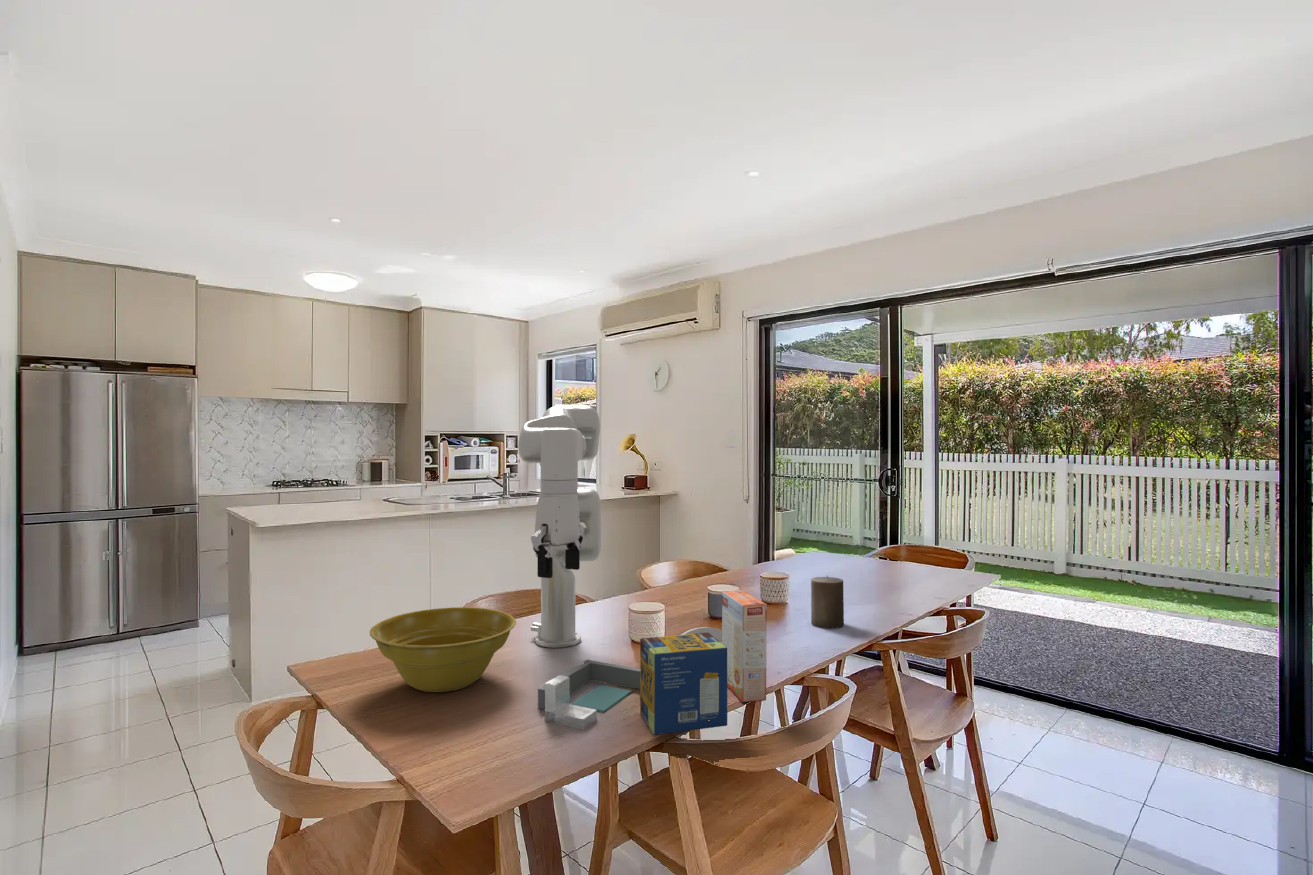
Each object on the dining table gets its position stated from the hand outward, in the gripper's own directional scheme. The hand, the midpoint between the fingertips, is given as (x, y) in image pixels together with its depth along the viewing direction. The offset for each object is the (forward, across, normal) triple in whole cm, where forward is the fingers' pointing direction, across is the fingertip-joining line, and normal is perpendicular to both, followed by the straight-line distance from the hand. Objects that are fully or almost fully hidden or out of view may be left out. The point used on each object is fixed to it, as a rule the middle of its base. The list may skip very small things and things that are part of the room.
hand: (559, 573), depth 132 cm
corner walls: (+29, -12, +3) cm, 31 cm away
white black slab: (+29, -41, +14) cm, 52 cm away
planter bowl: (+29, -5, -35) cm, 45 cm away
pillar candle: (+29, -91, +36) cm, 102 cm away
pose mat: (+29, -12, +3) cm, 31 cm away
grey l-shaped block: (+29, 0, +3) cm, 29 cm away
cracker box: (+29, -29, +29) cm, 51 cm away
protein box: (+29, -9, +23) cm, 38 cm away
